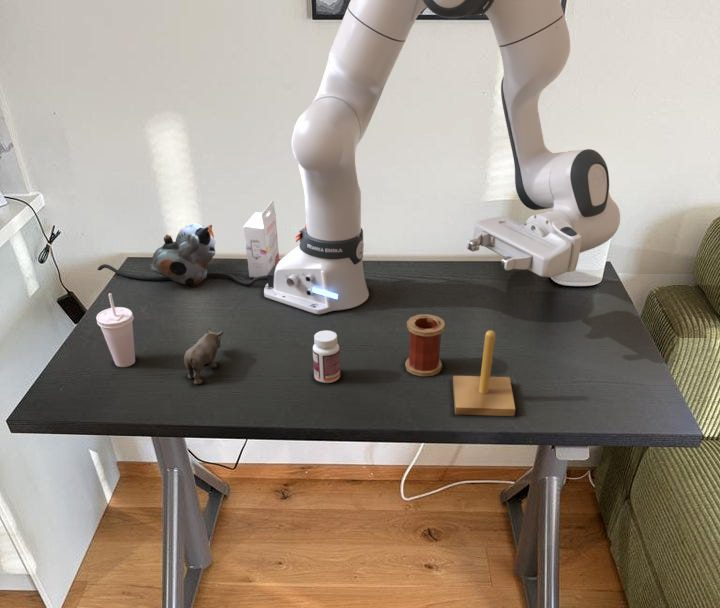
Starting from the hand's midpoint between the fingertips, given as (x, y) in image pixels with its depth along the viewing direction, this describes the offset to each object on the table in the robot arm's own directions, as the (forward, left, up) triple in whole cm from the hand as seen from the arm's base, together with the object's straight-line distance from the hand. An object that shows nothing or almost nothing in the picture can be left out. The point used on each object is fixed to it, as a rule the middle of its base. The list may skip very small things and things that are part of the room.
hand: (486, 255), depth 134 cm
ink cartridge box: (-54, +15, -19) cm, 59 cm away
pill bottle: (-22, -20, -19) cm, 35 cm away
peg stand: (+6, -16, -19) cm, 25 cm away
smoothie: (-59, -30, -19) cm, 69 cm away
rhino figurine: (-44, -25, -19) cm, 54 cm away
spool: (-7, -10, -19) cm, 22 cm away
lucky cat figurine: (-69, +6, -19) cm, 72 cm away
